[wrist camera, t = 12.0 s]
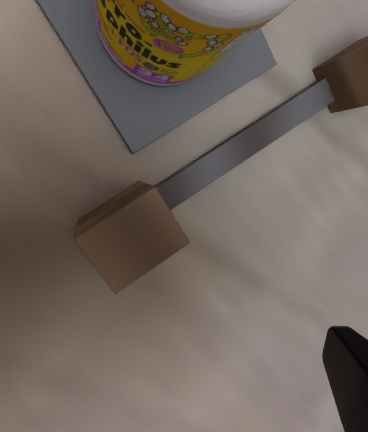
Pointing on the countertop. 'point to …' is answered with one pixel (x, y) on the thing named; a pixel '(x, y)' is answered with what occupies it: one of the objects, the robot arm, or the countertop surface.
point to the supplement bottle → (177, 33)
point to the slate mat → (141, 91)
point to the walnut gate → (206, 176)
